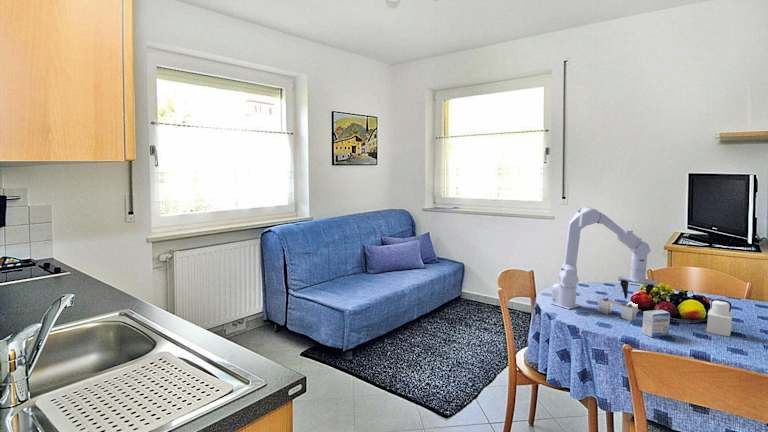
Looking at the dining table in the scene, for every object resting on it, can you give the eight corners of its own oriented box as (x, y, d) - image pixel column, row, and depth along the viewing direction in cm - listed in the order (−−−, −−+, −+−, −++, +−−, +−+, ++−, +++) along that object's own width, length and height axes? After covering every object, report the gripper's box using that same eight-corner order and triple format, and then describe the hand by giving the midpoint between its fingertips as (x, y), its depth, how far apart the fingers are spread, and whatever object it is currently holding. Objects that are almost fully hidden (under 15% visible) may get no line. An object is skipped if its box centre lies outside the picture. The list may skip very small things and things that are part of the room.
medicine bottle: (707, 326, 175) (710, 296, 173) (730, 331, 171) (734, 300, 169) (705, 332, 170) (708, 301, 168) (729, 337, 165) (733, 305, 163)
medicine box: (651, 337, 164) (653, 314, 163) (641, 333, 169) (643, 310, 168) (668, 335, 167) (670, 312, 165) (658, 331, 171) (660, 308, 170)
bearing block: (598, 311, 193) (599, 297, 192) (602, 309, 194) (603, 296, 194) (631, 321, 181) (632, 306, 180) (635, 319, 183) (636, 305, 182)
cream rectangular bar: (633, 316, 187) (634, 308, 186) (624, 314, 189) (624, 306, 189) (642, 307, 198) (642, 299, 197) (632, 306, 200) (633, 298, 199)
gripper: (617, 267, 195) (615, 298, 197) (656, 273, 186) (653, 305, 188) (621, 264, 201) (618, 294, 202) (659, 270, 192) (656, 301, 193)
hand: (635, 299), depth 196 cm, fingers open, 7 cm apart
